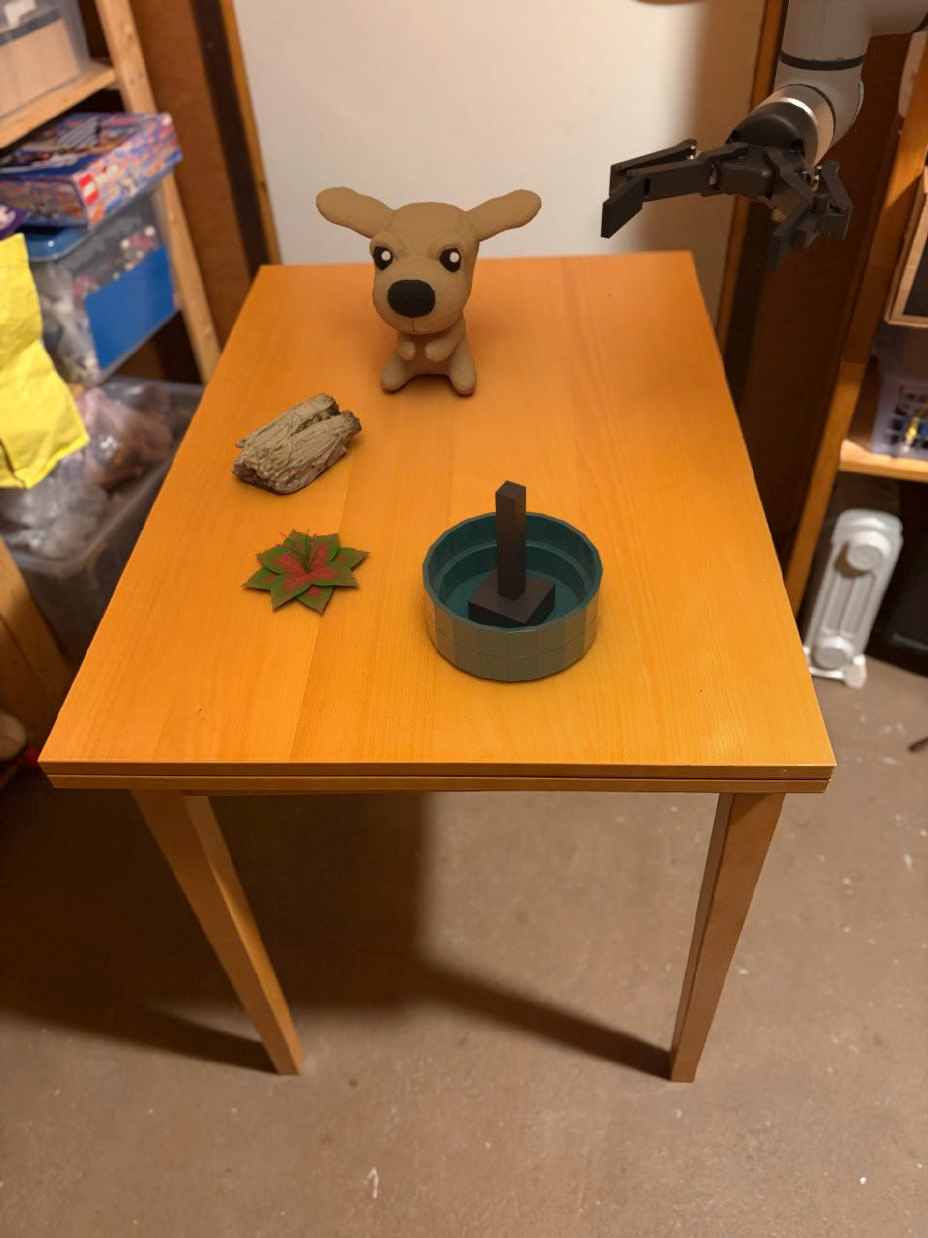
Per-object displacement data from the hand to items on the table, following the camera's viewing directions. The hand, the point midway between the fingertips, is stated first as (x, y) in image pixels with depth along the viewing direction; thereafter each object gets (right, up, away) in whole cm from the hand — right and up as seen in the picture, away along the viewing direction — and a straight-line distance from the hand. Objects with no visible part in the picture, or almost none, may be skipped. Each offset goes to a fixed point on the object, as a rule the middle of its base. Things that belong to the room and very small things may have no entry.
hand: (686, 236), depth 71 cm
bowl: (-13, -30, +11) cm, 34 cm away
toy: (-21, 0, +41) cm, 46 cm away
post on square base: (-13, -29, +11) cm, 34 cm away
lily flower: (-32, -25, +17) cm, 44 cm away
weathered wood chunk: (-35, -12, +30) cm, 47 cm away
